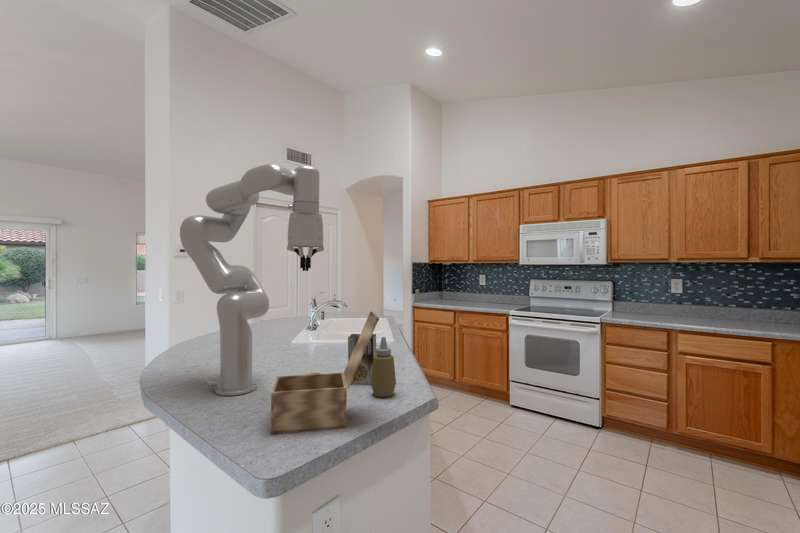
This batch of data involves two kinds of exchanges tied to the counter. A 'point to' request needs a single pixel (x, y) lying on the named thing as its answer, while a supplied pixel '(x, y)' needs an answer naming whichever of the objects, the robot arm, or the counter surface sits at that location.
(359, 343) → the carton flap
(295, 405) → the carton
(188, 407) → the counter surface
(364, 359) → the grey upright box
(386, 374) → the squeeze bottle
